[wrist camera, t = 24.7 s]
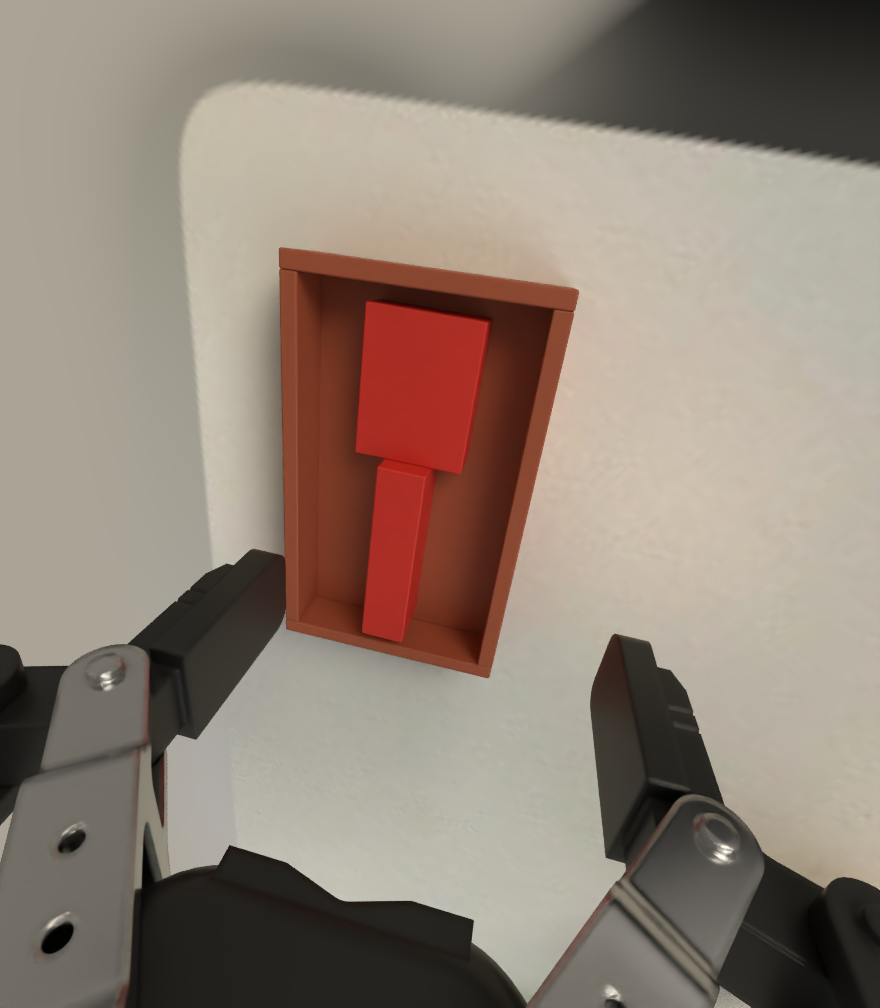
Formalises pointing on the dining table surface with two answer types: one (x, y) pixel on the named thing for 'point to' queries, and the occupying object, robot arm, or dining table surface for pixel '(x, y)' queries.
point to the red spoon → (412, 438)
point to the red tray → (352, 476)
